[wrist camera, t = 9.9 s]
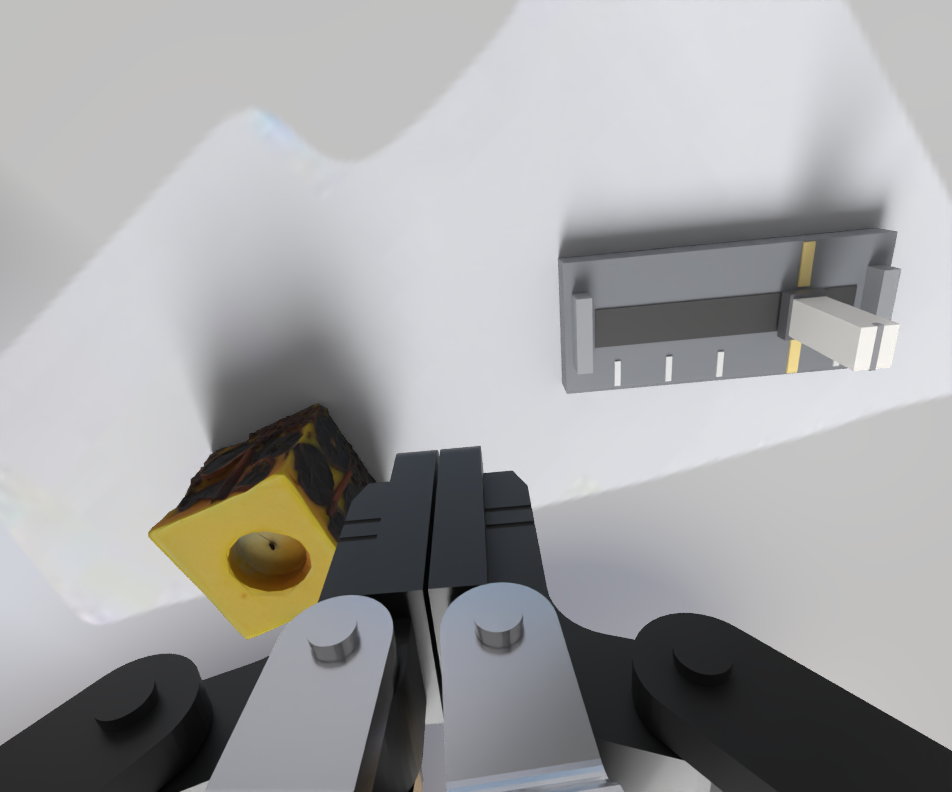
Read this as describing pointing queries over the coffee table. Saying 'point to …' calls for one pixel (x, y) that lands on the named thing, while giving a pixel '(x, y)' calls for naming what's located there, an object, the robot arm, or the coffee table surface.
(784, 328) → the fader
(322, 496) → the candle
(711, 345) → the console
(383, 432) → the coffee table surface
